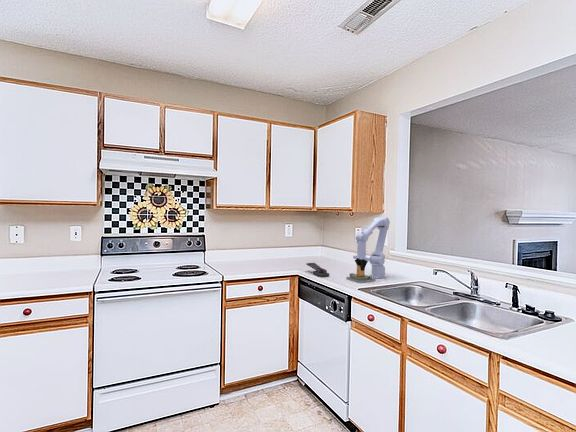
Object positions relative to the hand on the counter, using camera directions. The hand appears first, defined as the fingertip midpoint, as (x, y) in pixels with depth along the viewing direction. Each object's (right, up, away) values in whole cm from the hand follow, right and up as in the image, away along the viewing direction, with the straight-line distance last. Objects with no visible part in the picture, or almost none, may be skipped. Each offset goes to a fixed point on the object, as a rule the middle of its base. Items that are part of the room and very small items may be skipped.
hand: (361, 270), depth 229 cm
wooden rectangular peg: (0, -5, 0) cm, 5 cm away
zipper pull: (-28, -6, +19) cm, 35 cm away
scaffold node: (-1, -7, +1) cm, 7 cm away
